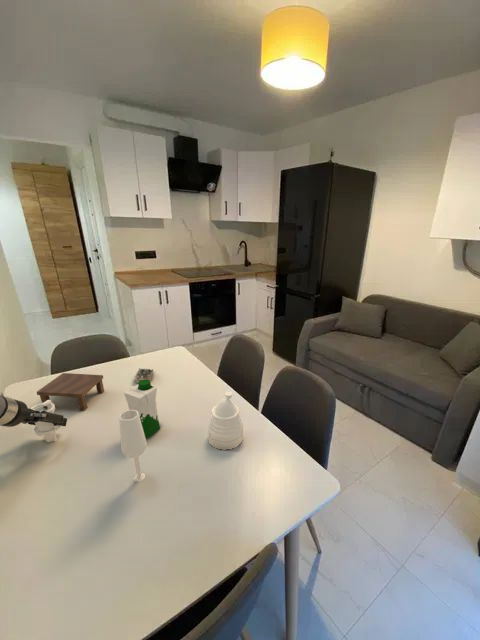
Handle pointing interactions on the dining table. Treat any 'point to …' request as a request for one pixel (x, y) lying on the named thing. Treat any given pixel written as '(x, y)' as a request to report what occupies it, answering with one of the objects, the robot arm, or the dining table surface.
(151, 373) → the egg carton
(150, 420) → the milk carton
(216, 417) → the honey pot
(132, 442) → the champagne flute
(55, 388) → the low table
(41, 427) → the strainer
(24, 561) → the dining table surface
